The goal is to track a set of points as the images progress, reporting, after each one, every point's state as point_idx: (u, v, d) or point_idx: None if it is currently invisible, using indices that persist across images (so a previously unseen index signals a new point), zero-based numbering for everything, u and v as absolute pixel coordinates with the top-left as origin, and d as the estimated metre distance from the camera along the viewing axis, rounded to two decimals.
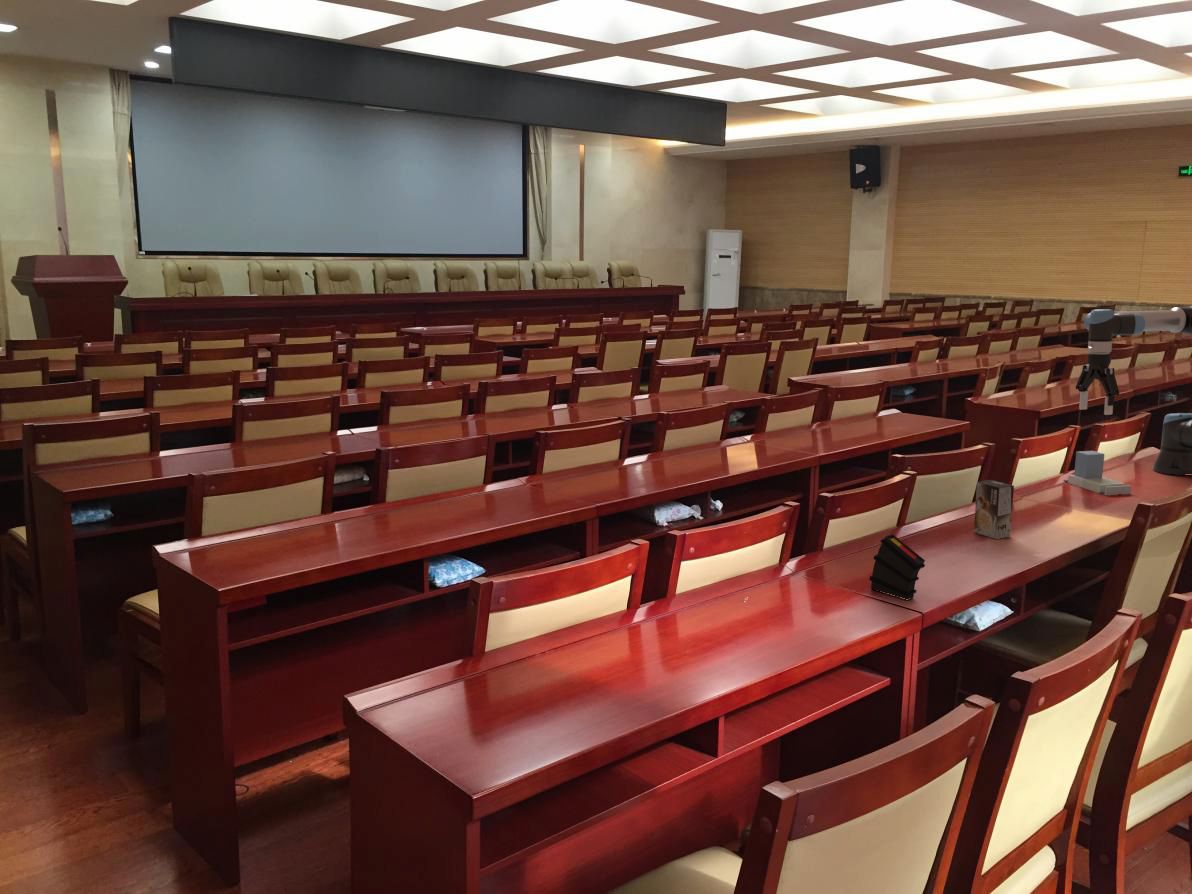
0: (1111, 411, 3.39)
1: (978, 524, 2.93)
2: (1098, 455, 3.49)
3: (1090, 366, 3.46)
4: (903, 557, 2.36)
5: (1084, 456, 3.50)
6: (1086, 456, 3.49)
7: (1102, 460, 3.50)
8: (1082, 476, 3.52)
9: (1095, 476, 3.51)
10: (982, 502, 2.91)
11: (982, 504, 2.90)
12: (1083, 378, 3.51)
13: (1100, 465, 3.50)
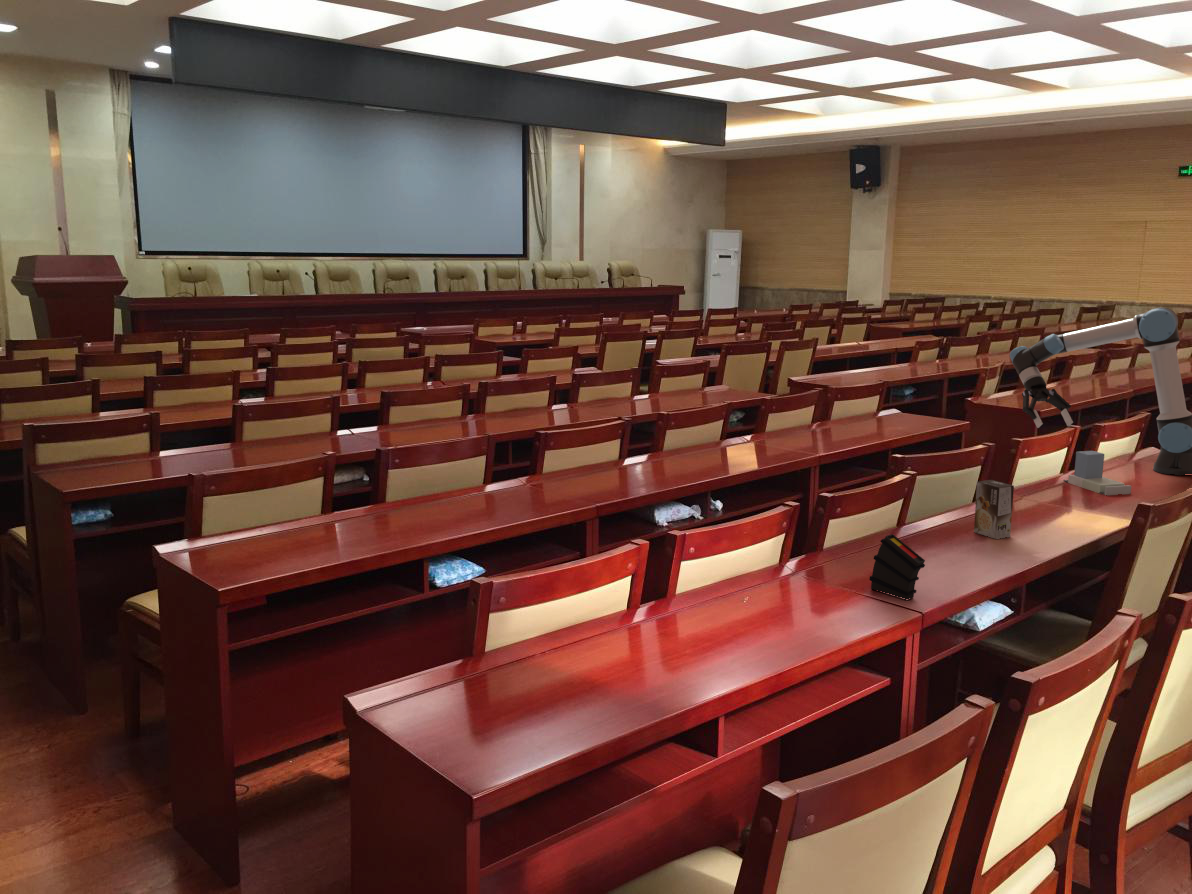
0: (1039, 421, 3.68)
1: (978, 524, 2.93)
2: (1098, 455, 3.49)
3: None
4: (903, 557, 2.36)
5: (1084, 456, 3.50)
6: (1086, 456, 3.49)
7: (1102, 460, 3.50)
8: (1082, 476, 3.52)
9: (1095, 476, 3.51)
10: (982, 502, 2.91)
11: (982, 504, 2.90)
12: (1058, 401, 3.78)
13: (1100, 465, 3.50)
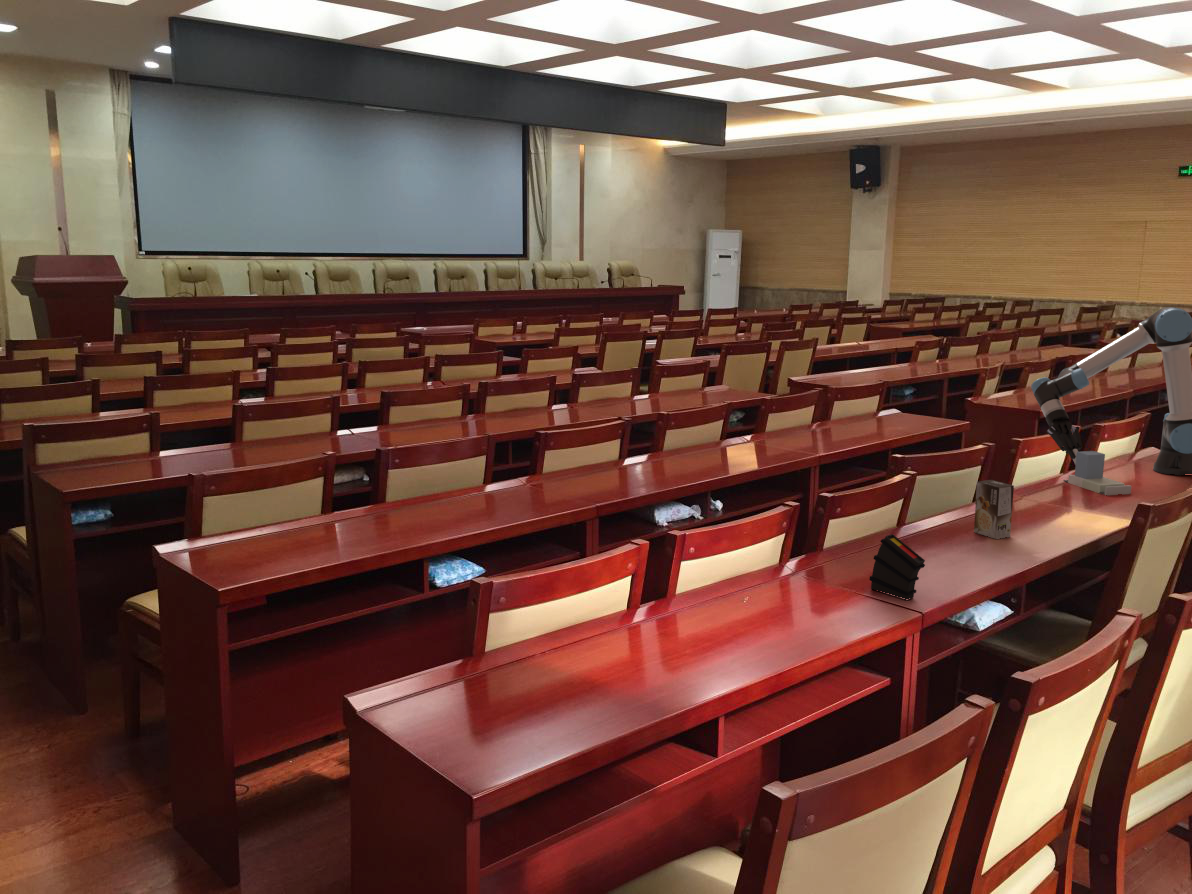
0: None
1: (978, 524, 2.93)
2: (1099, 455, 3.49)
3: None
4: (903, 557, 2.36)
5: (1085, 456, 3.50)
6: (1087, 456, 3.49)
7: (1103, 460, 3.50)
8: (1082, 476, 3.51)
9: (1095, 476, 3.51)
10: (981, 502, 2.91)
11: (982, 504, 2.90)
12: (1074, 438, 3.64)
13: (1101, 465, 3.50)
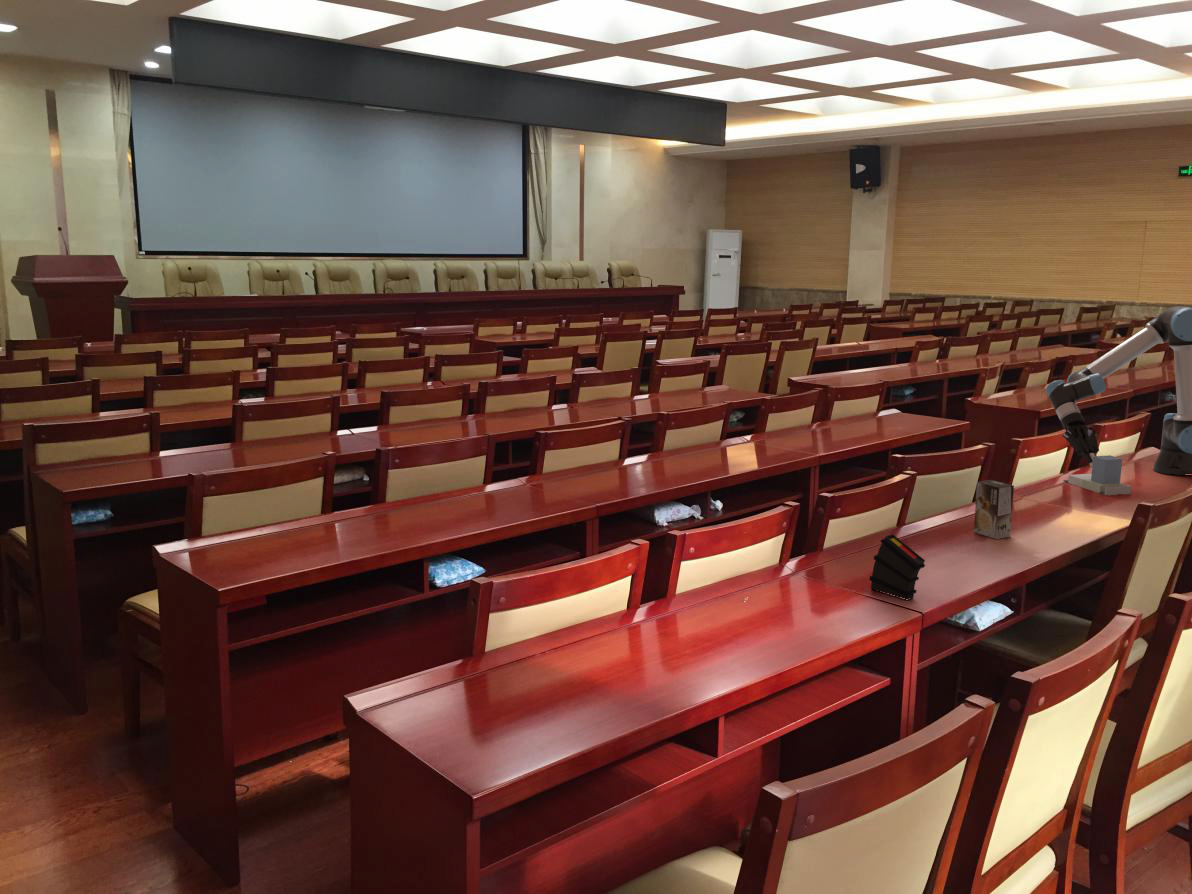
0: None
1: (978, 524, 2.93)
2: (1116, 460, 3.41)
3: None
4: (903, 557, 2.36)
5: (1102, 460, 3.41)
6: (1104, 461, 3.41)
7: (1120, 465, 3.42)
8: (1099, 481, 3.43)
9: (1113, 481, 3.42)
10: (981, 502, 2.91)
11: (982, 504, 2.90)
12: (1091, 442, 3.56)
13: (1118, 470, 3.42)
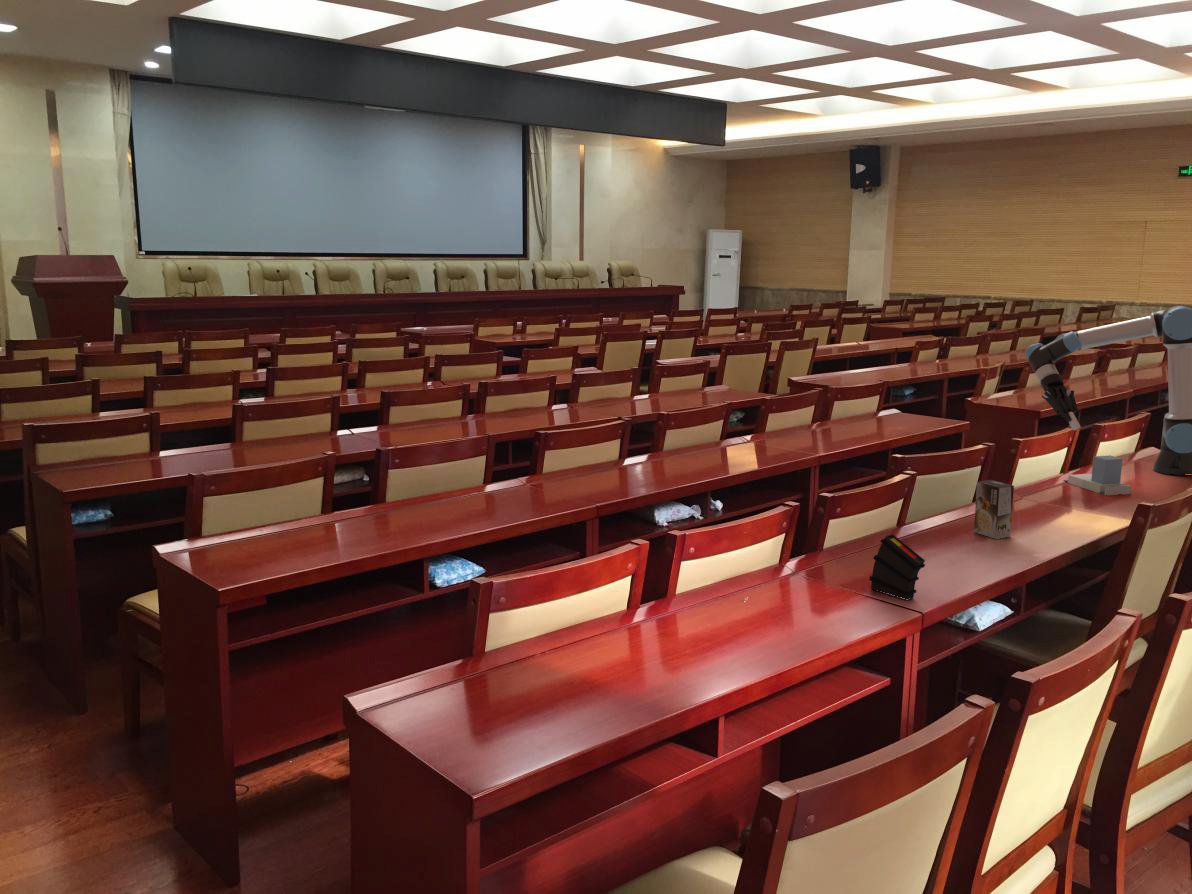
0: (1074, 424, 3.58)
1: (978, 524, 2.93)
2: (1116, 460, 3.41)
3: None
4: (903, 557, 2.36)
5: (1102, 461, 3.41)
6: (1104, 461, 3.41)
7: (1120, 465, 3.42)
8: (1099, 481, 3.43)
9: (1113, 481, 3.42)
10: (981, 502, 2.91)
11: (982, 504, 2.90)
12: (1069, 402, 3.66)
13: (1118, 470, 3.42)
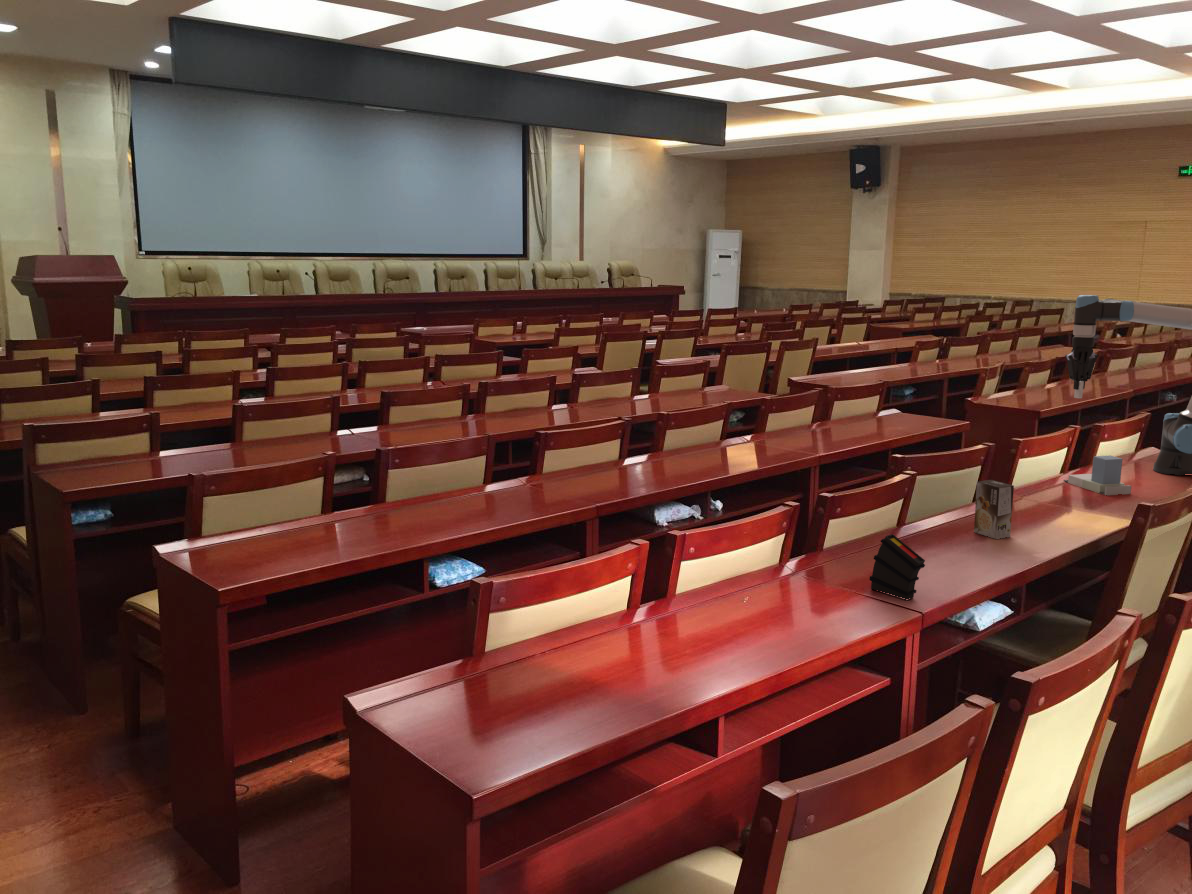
0: (1078, 395, 3.67)
1: (978, 524, 2.93)
2: (1116, 460, 3.41)
3: None
4: (903, 557, 2.36)
5: (1102, 461, 3.41)
6: (1104, 461, 3.41)
7: (1120, 465, 3.42)
8: (1099, 481, 3.43)
9: (1113, 481, 3.42)
10: (982, 502, 2.91)
11: (982, 504, 2.90)
12: (1088, 366, 3.67)
13: (1118, 470, 3.42)
